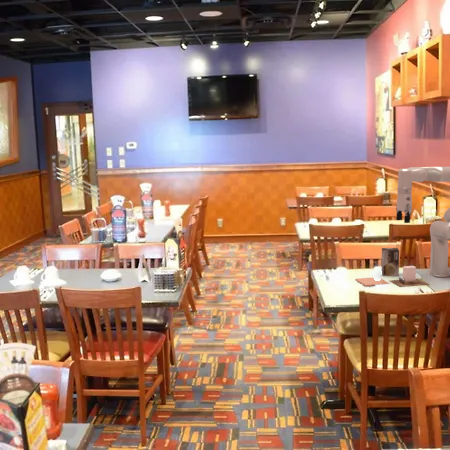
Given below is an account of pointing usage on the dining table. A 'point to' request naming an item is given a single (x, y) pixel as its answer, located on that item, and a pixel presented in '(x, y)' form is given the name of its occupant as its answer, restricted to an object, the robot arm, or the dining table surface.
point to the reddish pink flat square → (370, 281)
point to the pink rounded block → (409, 273)
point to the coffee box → (390, 262)
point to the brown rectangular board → (408, 283)
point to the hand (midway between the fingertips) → (403, 221)
